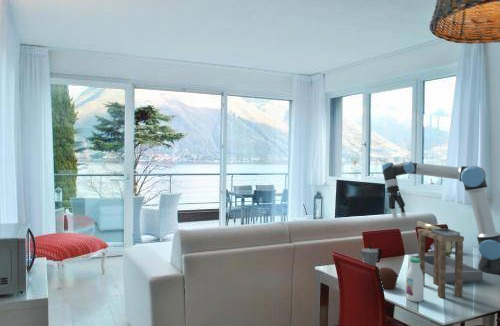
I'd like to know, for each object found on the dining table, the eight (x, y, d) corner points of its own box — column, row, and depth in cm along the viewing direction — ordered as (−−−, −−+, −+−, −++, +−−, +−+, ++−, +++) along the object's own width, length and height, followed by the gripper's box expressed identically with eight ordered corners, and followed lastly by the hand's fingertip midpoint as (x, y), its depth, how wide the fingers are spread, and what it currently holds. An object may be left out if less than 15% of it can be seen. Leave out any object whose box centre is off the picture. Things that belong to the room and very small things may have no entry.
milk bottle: (422, 297, 190) (423, 257, 190) (424, 303, 183) (424, 261, 183) (405, 295, 193) (406, 255, 192) (406, 301, 186) (407, 259, 185)
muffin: (370, 284, 209) (370, 266, 209) (387, 282, 213) (387, 264, 212) (385, 292, 198) (385, 272, 197) (402, 289, 202) (403, 270, 201)
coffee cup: (454, 253, 276) (454, 236, 275) (440, 252, 277) (440, 236, 277) (450, 250, 285) (450, 233, 284) (436, 249, 287) (436, 233, 286)
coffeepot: (365, 280, 216) (366, 248, 216) (355, 275, 225) (355, 244, 225) (387, 276, 222) (387, 245, 222) (376, 272, 231) (376, 242, 231)
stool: (417, 283, 210) (417, 229, 210) (437, 283, 212) (438, 228, 211) (440, 298, 189) (441, 237, 189) (463, 297, 191) (464, 236, 190)
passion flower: (436, 264, 266) (425, 250, 267) (436, 258, 275) (426, 244, 277) (452, 257, 261) (440, 242, 262) (451, 251, 270) (441, 236, 271)
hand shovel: (411, 226, 219) (411, 221, 219) (426, 225, 220) (426, 220, 220) (442, 236, 190) (443, 231, 190) (459, 236, 191) (460, 230, 191)
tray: (411, 265, 245) (411, 255, 245) (443, 264, 248) (443, 254, 248) (445, 283, 211) (445, 272, 210) (482, 282, 213) (482, 271, 213)
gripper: (379, 189, 267) (386, 219, 263) (394, 184, 242) (401, 218, 239) (390, 187, 267) (397, 218, 264) (405, 182, 243) (413, 216, 239)
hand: (399, 218), depth 251 cm, fingers open, 13 cm apart
